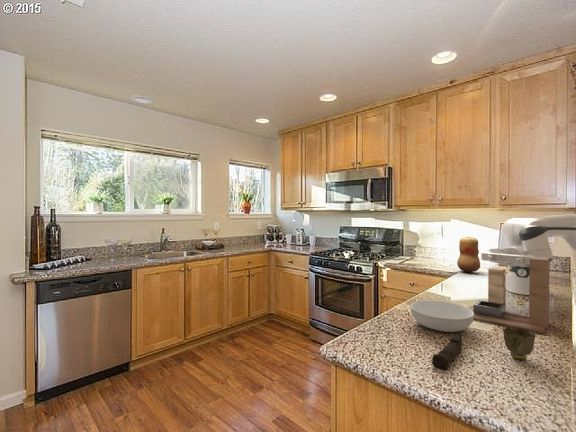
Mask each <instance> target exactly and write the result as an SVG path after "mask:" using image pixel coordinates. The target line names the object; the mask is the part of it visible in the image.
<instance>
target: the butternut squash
mask: <svg viewBox="0 0 576 432" xmlns="http://www.w3.org/2000/svg"><path fill="white" fill-rule="evenodd" d="M458 244H459V245H458V246H459V249H458V250H459V257H458V259H457V261H456V263H457V267H458V268H459V270H461V271H463V272H465V273H468V274H469V273H473V272H474V273H475V272H477V271H478V270H479V269H480V268H481V260H480V258H479V253H480V252H479V241H478V239H477V238H476V237H474V236H464V237H461V238H460V239H459V243H458Z"/></svg>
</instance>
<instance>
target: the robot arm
mask: <svg viewBox="0 0 576 432" xmlns="http://www.w3.org/2000/svg"><path fill="white" fill-rule="evenodd" d="M502 231H503V232H504V234H505V235H506V238H507V241H508V245H509V247H502V248H489V250H483V251H482V252H480V253H481V254H480V255H481V256H480V258H481V261H486V262H487V261H488V262H490V263H493V264H495V263H496V264H501V265H503V266H507V267H509V272H508V273H506V291H507V292H510V293H513V294H517V295H518V294H519V295H523V296H524V295H525V296H526V295H527V296H529V280H530V258H531V257H532V256H534V257H547V258H549V264H550V263H551V262H552V261H553V260H554V255H553V252H552V248H551V246H550V241H549V239H548V238H553V237H555V238H556V237H561V238H562V239H563V240H564V241H565V242H566V243H567V244H568V246H569V247H570V248H571V250H572V251H574V253H576V213H567V214H566V213H565V214H554V215H545V216H540V217H526V218H525V217H514V218H510V219H507V220H506V221H504V223H503V224H502Z"/></svg>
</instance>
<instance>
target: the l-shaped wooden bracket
mask: <svg viewBox="0 0 576 432" xmlns="http://www.w3.org/2000/svg"><path fill="white" fill-rule="evenodd" d="M528 296H529V297H528V299H529V300H528V302H529V305H528V308H529V309H528V316H525V315H521V314H515V313H510V312H507V304H500V303H494V302H488V300H481V299H478V300H477V301H476V302H475V303H473V305H470V306H469V307H468V308H469V309H471V310H472V311H473V312H474V319H473V321H477V322H481V323H485V324H486V323H487V324H492V325H497V326H500V327H504V328H506V326H507V328H508V326H510V327H511V328H513V326H514V327H515V328H516V329H517V328H519V327H521V328H523V329H524V330H525V329H528V332H529V333H532V332H534V334H537V335H543V336H544V335H545V331H546V329H547V328H548V326H549V323H550V263H549V258H547V257H534V256H532V257H531V258H530V280H529V295H528Z"/></svg>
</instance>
